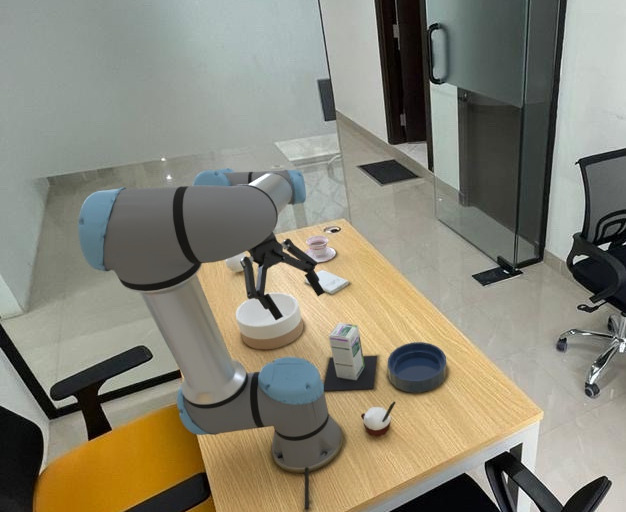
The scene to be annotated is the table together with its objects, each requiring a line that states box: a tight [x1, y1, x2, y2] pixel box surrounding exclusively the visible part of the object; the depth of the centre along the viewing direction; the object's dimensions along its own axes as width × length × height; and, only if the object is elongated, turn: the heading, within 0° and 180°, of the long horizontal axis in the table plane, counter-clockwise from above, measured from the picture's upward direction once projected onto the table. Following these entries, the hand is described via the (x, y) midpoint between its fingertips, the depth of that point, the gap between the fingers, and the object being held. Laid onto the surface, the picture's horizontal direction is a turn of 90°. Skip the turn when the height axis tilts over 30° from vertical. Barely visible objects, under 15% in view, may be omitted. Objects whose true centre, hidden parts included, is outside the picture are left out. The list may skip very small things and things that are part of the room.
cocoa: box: [360, 401, 396, 438], centre depth 115 cm, size 10×6×12 cm, turn 40°
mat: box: [323, 355, 378, 392], centre depth 134 cm, size 13×13×1 cm
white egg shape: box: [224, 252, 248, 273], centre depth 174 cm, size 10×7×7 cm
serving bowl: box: [387, 341, 447, 394], centre depth 134 cm, size 16×16×4 cm
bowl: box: [234, 292, 304, 350], centre depth 146 cm, size 17×17×8 cm
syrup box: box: [328, 322, 365, 380], centre depth 130 cm, size 6×6×14 cm
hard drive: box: [304, 269, 350, 295], centre depth 170 cm, size 2×8×12 cm
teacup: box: [303, 234, 337, 264], centre depth 184 cm, size 12×12×6 cm
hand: (301, 306), depth 125 cm, fingers open, 13 cm apart
